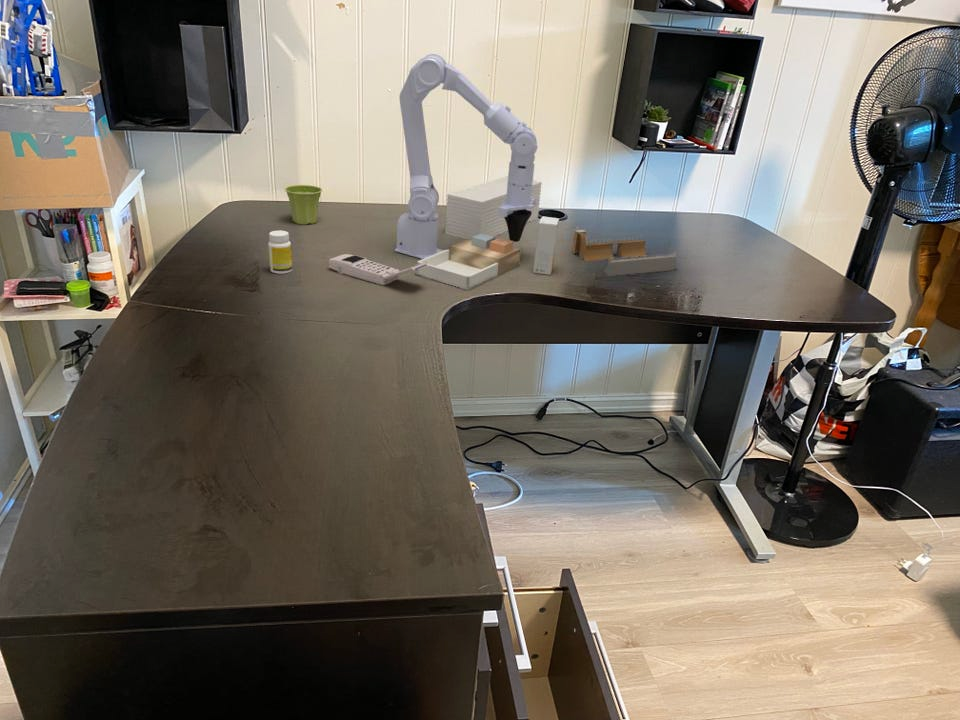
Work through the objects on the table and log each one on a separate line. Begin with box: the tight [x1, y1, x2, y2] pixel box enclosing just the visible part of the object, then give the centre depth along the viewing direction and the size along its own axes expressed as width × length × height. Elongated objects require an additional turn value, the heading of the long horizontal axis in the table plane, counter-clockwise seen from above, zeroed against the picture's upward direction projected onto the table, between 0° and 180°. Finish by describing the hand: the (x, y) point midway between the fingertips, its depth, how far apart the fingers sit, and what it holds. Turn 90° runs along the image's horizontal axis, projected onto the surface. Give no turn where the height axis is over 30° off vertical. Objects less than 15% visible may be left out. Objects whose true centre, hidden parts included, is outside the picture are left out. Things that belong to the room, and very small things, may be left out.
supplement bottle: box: [267, 230, 293, 275], centre depth 152 cm, size 5×5×8 cm
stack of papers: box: [445, 175, 542, 240], centre depth 194 cm, size 32×11×11 cm, turn 148°
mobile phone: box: [328, 253, 427, 286], centre depth 153 cm, size 6×6×25 cm
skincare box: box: [532, 215, 560, 276], centre depth 163 cm, size 6×4×12 cm
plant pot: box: [284, 184, 323, 225], centre depth 185 cm, size 9×9×9 cm
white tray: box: [415, 249, 498, 291], centre depth 158 cm, size 14×12×3 cm
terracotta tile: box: [489, 237, 515, 254], centre depth 164 cm, size 4×4×2 cm
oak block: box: [449, 238, 522, 277], centre depth 166 cm, size 13×10×4 cm
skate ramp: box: [571, 226, 677, 277], centre depth 177 cm, size 29×35×8 cm
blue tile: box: [471, 234, 496, 249], centre depth 166 cm, size 4×4×2 cm
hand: (514, 240), depth 168 cm, fingers closed
